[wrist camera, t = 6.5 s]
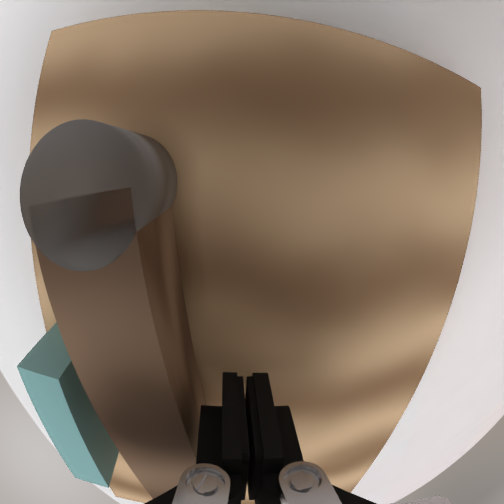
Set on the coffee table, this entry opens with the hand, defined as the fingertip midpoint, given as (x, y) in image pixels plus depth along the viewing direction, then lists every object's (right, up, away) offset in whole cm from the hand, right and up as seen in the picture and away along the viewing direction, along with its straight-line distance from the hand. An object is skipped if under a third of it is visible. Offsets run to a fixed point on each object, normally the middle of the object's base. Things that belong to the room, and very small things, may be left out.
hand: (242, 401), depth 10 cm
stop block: (-8, -1, +2) cm, 8 cm away
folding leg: (-4, +2, +1) cm, 4 cm away
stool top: (0, -1, +4) cm, 4 cm away
